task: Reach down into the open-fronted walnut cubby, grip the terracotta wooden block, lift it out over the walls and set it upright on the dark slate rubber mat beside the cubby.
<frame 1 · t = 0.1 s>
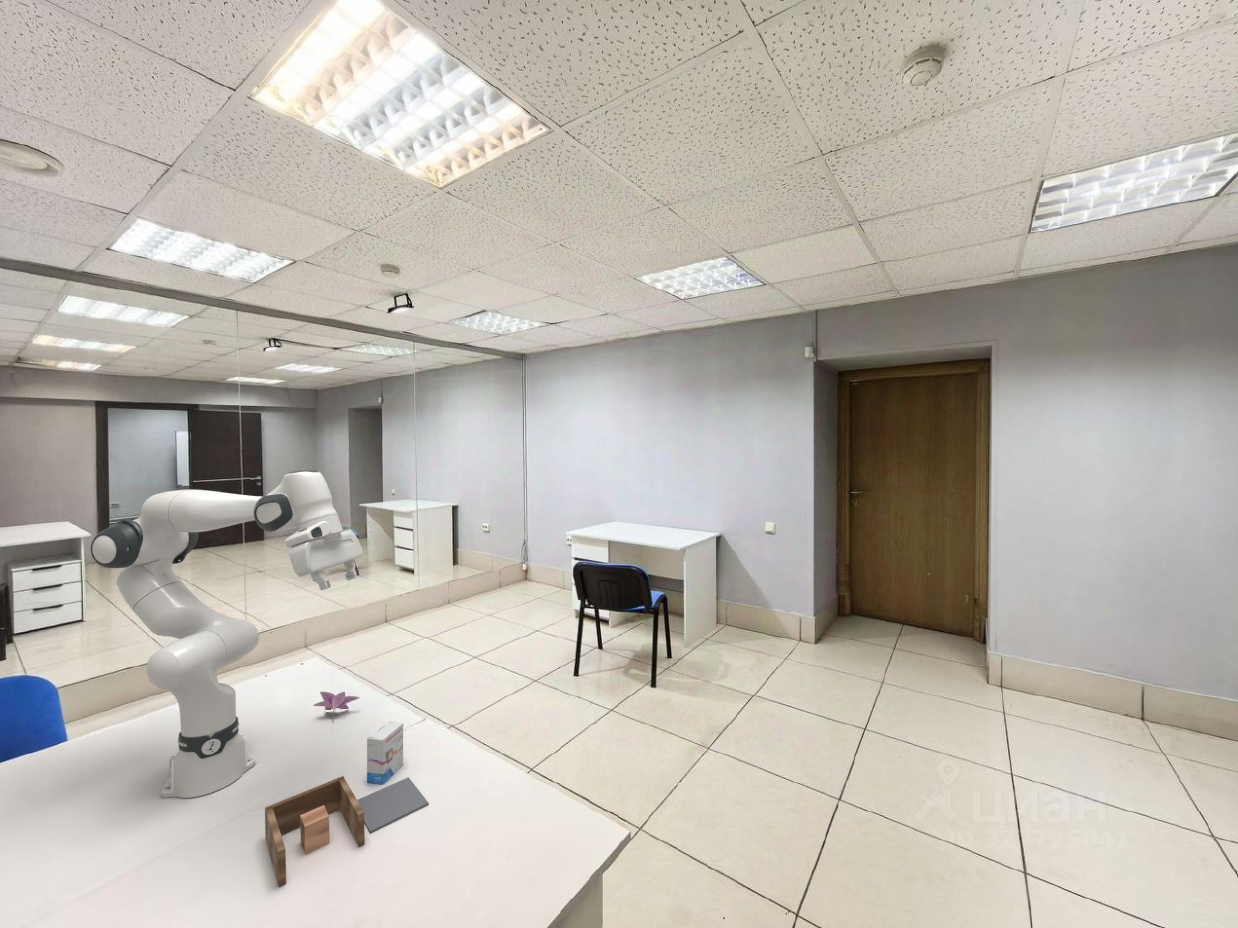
hand: (339, 583, 123), 52 cm above the table, tool tilted 20°, fingers open, 8 cm apart
walnut cubby: (315, 842, 107), on the table
terracotta block: (314, 829, 107), in the walnut cubby
slate mat: (390, 803, 119), on the table
lily: (336, 717, 159), on the table
ink box: (385, 774, 130), on the table
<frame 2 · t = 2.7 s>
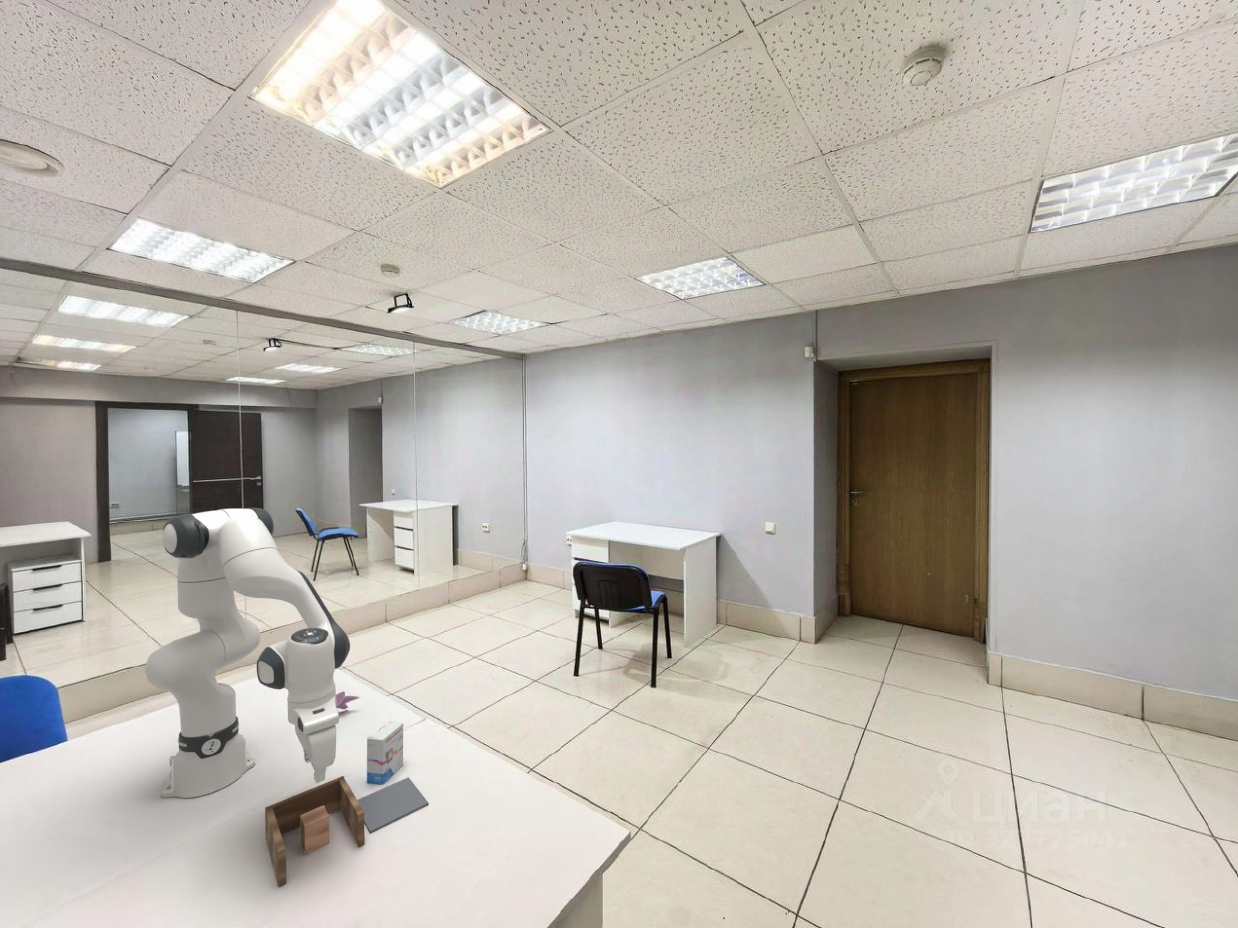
hand: (314, 769, 107), 16 cm above the table, tool pointing down, fingers open, 8 cm apart
nothing on the table moved.
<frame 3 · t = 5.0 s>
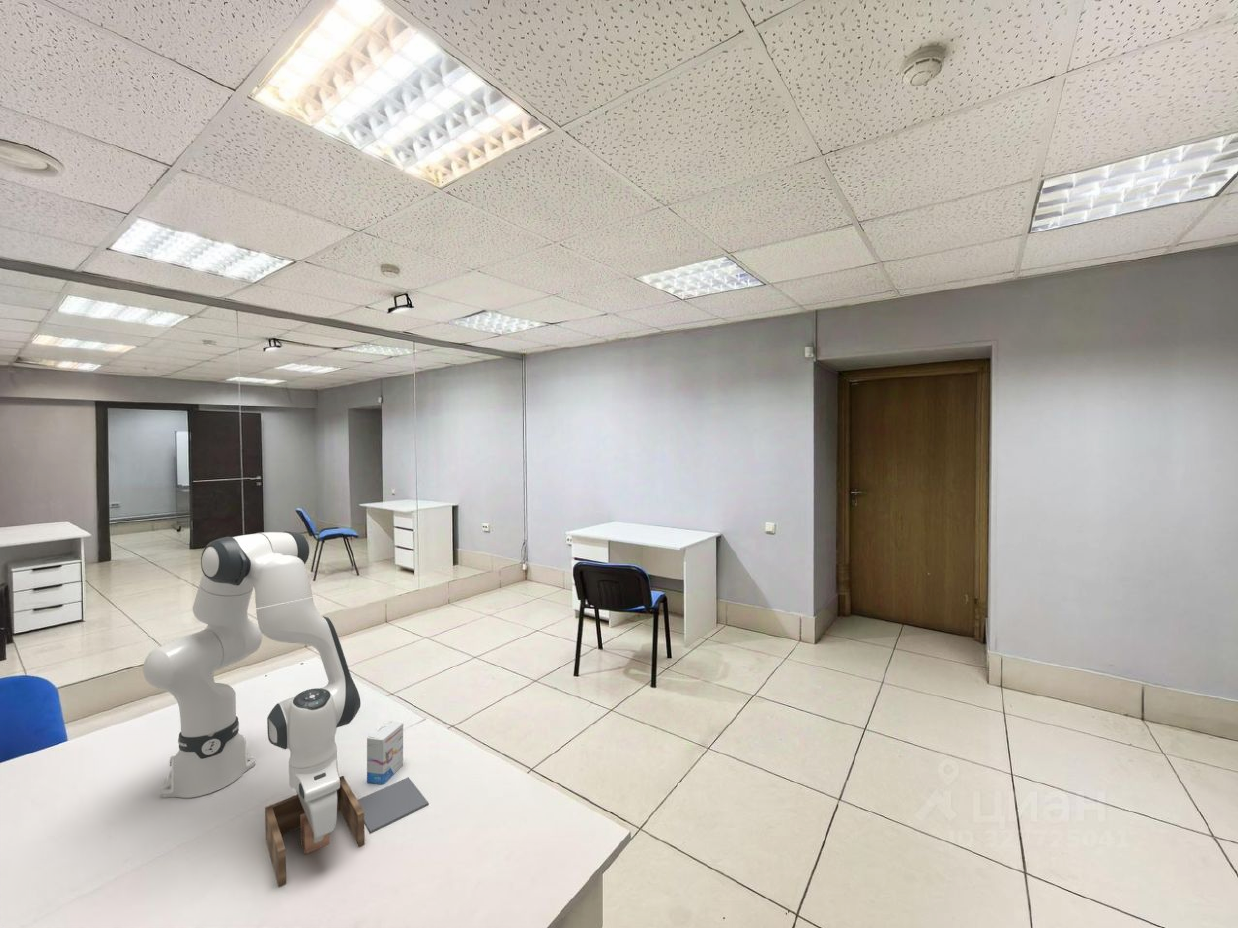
hand: (314, 831, 107), 2 cm above the table, tool pointing down, fingers closed on terracotta block, 4 cm apart
terracotta block: (314, 828, 107), in the walnut cubby, touching gripper
everything else where it was.
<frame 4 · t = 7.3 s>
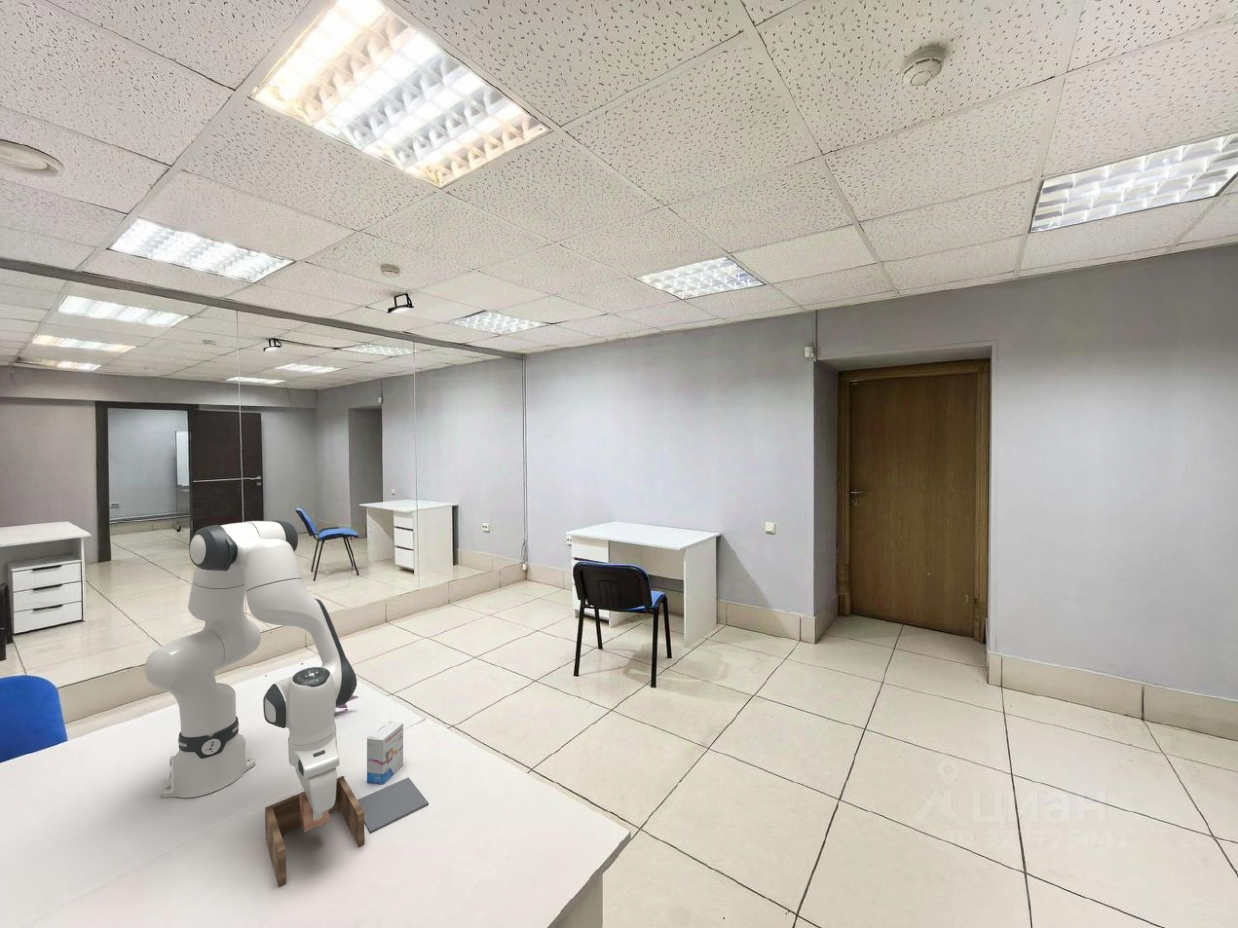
hand: (314, 810, 107), 7 cm above the table, tool pointing down, fingers closed on terracotta block, 4 cm apart
terracotta block: (314, 807, 107), point 8 cm above the table, touching gripper
everything else where it was.
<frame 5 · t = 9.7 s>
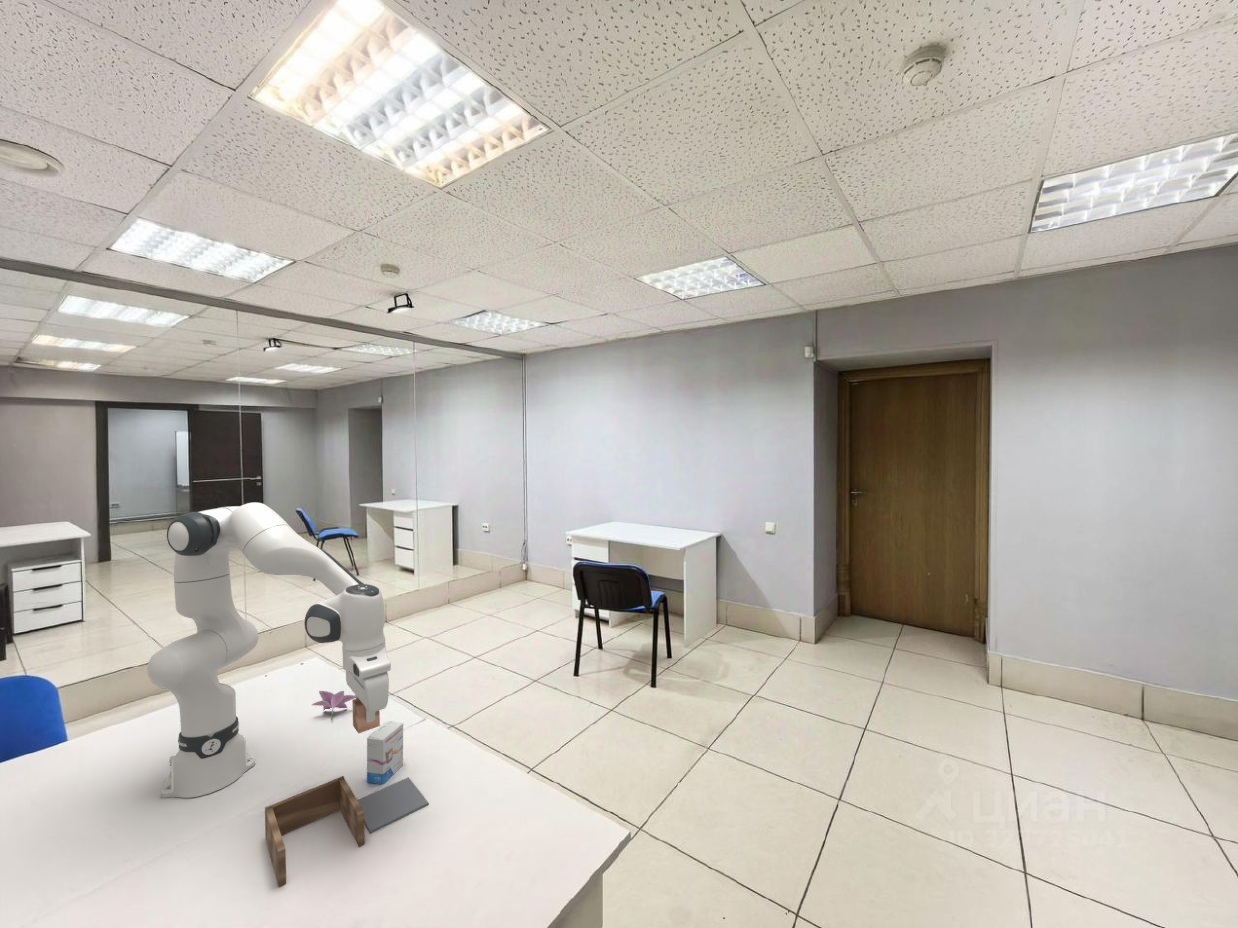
hand: (366, 715, 114), 24 cm above the table, tool pointing down, fingers closed on terracotta block, 4 cm apart
terracotta block: (366, 712, 114), point 24 cm above the table, touching gripper
everything else where it was.
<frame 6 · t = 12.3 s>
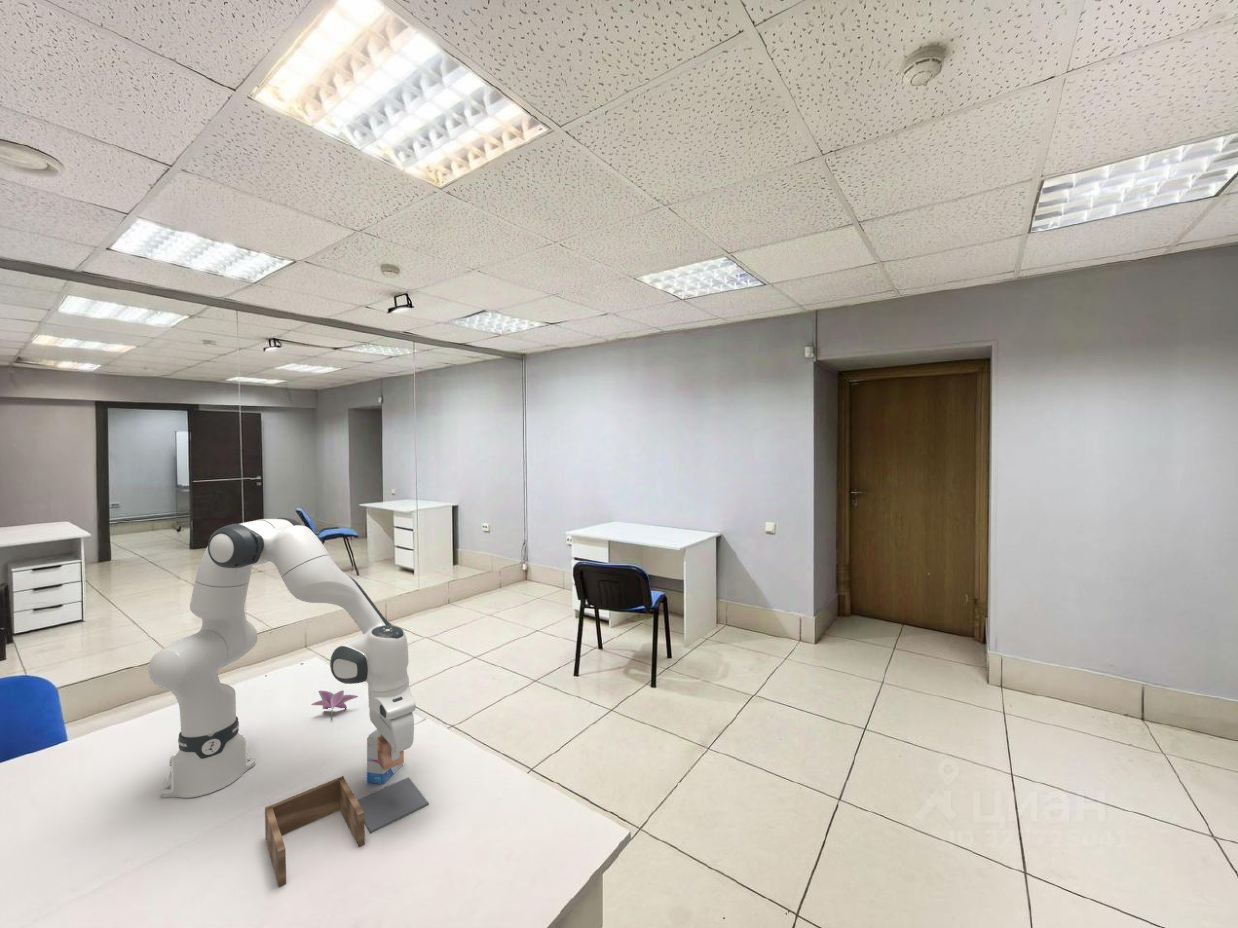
hand: (390, 752, 118), 12 cm above the table, tool pointing down, fingers closed on terracotta block, 4 cm apart
terracotta block: (390, 749, 118), point 13 cm above the table, touching gripper
when the fingers open (4 cm above the table, at t = 14.7 s): terracotta block drops 1 cm, resting on slate mat.
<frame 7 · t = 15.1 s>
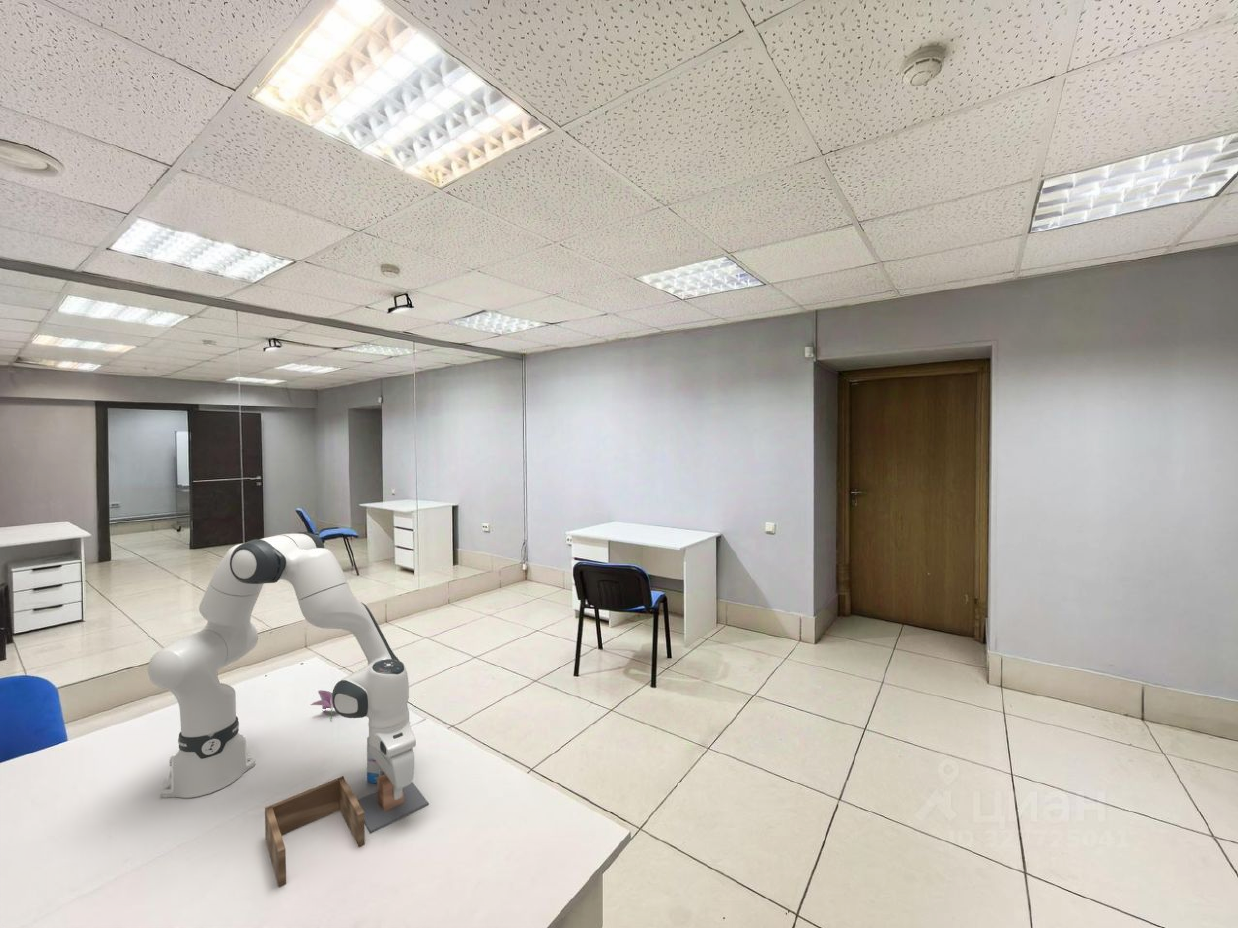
hand: (390, 787, 118), 4 cm above the table, tool pointing down, fingers open, 8 cm apart
terracotta block: (390, 789, 119), on the slate mat
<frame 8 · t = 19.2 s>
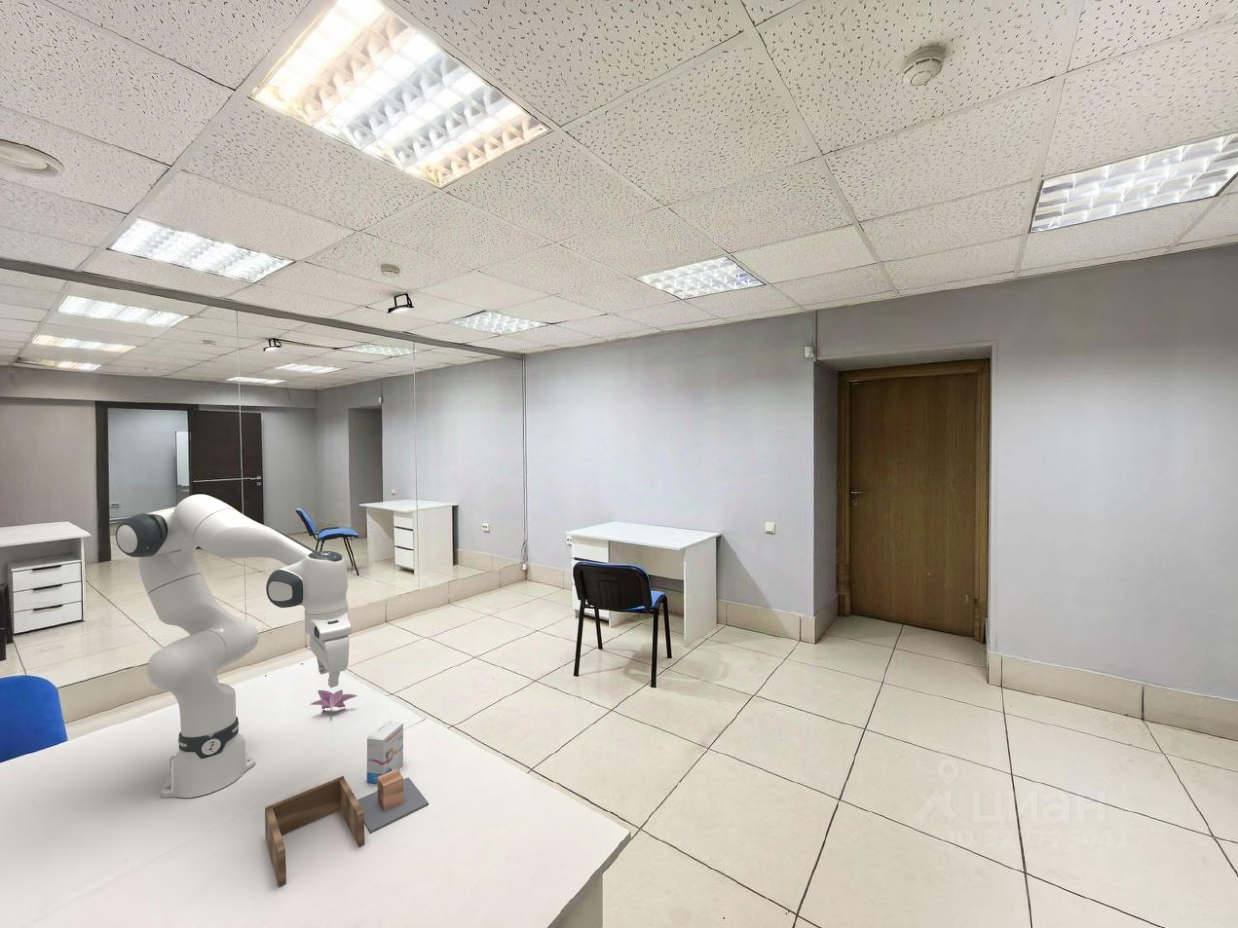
hand: (328, 679, 116), 31 cm above the table, tool pointing down, fingers open, 8 cm apart
at the end: terracotta block inside the target area on the slate mat (0.1 cm from its centre), point 3.5 cm above the slate mat's base; terracotta block tilted 0°; the gripper is holding nothing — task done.
